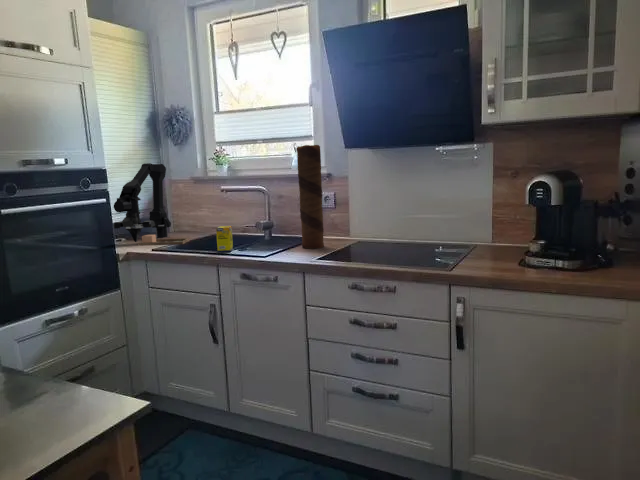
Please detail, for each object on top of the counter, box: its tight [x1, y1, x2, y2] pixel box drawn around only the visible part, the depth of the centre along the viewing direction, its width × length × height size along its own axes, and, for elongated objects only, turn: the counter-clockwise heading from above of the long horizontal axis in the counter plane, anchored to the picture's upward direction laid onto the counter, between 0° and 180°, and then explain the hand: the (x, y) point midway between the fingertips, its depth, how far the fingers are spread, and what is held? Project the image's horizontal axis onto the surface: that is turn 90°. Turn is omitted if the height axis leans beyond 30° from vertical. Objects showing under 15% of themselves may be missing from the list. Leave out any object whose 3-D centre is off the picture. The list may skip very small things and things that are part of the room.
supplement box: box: [215, 225, 234, 253], centre depth 230 cm, size 6×6×11 cm
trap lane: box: [137, 237, 191, 247], centre depth 256 cm, size 12×22×2 cm, turn 87°
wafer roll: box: [296, 144, 325, 249], centre depth 229 cm, size 10×11×45 cm
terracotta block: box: [141, 234, 157, 243], centre depth 256 cm, size 5×5×4 cm
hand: (135, 241), depth 257 cm, fingers closed
